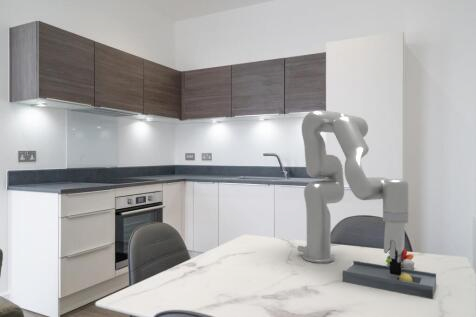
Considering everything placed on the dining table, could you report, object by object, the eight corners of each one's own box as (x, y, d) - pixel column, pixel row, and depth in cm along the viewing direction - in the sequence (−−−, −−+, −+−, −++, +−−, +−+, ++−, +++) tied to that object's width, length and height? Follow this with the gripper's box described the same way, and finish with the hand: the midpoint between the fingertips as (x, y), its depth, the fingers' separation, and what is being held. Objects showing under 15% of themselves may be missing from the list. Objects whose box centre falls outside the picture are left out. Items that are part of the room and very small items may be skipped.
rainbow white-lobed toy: (417, 272, 124) (417, 251, 125) (388, 270, 126) (388, 250, 126) (410, 265, 133) (410, 246, 133) (383, 263, 135) (383, 244, 135)
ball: (400, 289, 109) (395, 276, 110) (402, 285, 112) (397, 273, 113) (413, 286, 107) (408, 273, 108) (415, 283, 110) (410, 270, 111)
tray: (342, 281, 114) (342, 270, 114) (354, 270, 126) (354, 260, 126) (432, 298, 100) (432, 286, 100) (436, 284, 111) (436, 273, 112)
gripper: (387, 213, 120) (387, 266, 120) (378, 219, 108) (378, 278, 108) (411, 215, 116) (411, 270, 116) (404, 221, 104) (404, 283, 103)
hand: (395, 273), depth 112 cm, fingers closed
